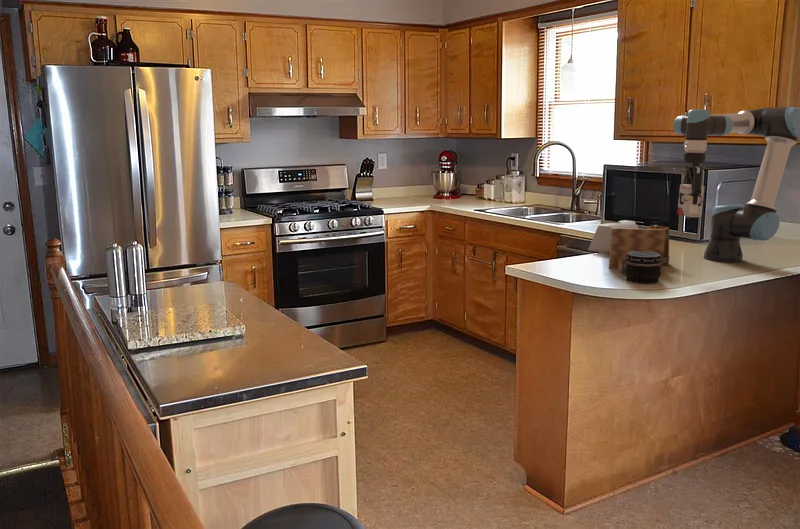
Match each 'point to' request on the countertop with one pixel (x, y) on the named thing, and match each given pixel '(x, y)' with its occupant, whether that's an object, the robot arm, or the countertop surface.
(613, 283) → the countertop surface
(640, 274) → the container
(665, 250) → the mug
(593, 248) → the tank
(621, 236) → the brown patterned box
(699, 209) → the ink box
